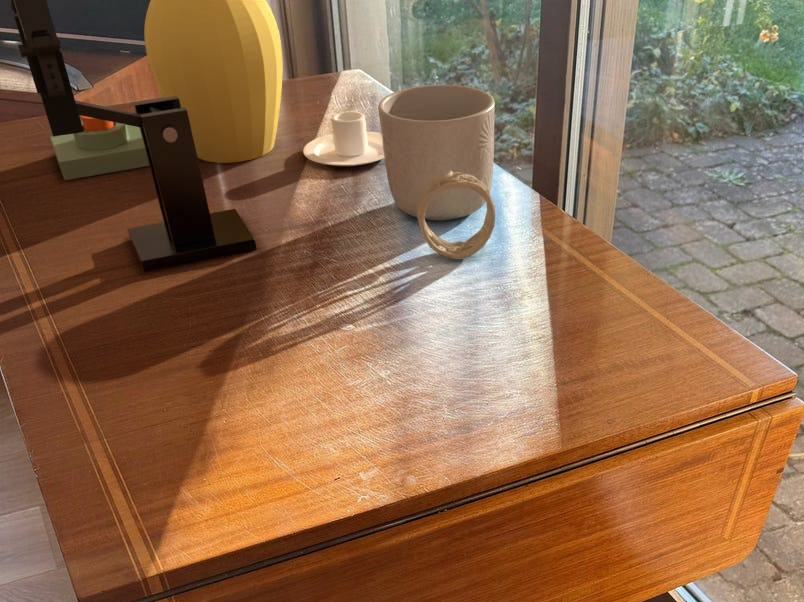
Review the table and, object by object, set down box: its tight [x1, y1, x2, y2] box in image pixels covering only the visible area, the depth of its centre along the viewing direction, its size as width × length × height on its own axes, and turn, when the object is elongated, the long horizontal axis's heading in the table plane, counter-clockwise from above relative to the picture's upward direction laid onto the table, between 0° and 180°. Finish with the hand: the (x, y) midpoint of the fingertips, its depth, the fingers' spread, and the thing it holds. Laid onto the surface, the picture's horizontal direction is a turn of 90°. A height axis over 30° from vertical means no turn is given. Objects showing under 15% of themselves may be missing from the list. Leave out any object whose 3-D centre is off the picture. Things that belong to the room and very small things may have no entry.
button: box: [80, 115, 114, 132], centre depth 122 cm, size 4×4×2 cm
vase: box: [143, 0, 283, 164], centre depth 117 cm, size 16×16×28 cm
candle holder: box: [302, 110, 385, 167], centre depth 123 cm, size 12×12×4 cm
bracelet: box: [416, 171, 496, 260], centre depth 100 cm, size 4×8×8 cm, turn 96°
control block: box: [49, 121, 150, 181], centre depth 124 cm, size 12×10×4 cm
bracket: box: [126, 96, 258, 273], centre depth 102 cm, size 12×9×14 cm
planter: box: [377, 84, 496, 221], centre depth 108 cm, size 12×12×11 cm
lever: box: [75, 99, 165, 128], centre depth 96 cm, size 12×5×2 cm, turn 113°
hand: (59, 111), depth 94 cm, fingers open, 13 cm apart
